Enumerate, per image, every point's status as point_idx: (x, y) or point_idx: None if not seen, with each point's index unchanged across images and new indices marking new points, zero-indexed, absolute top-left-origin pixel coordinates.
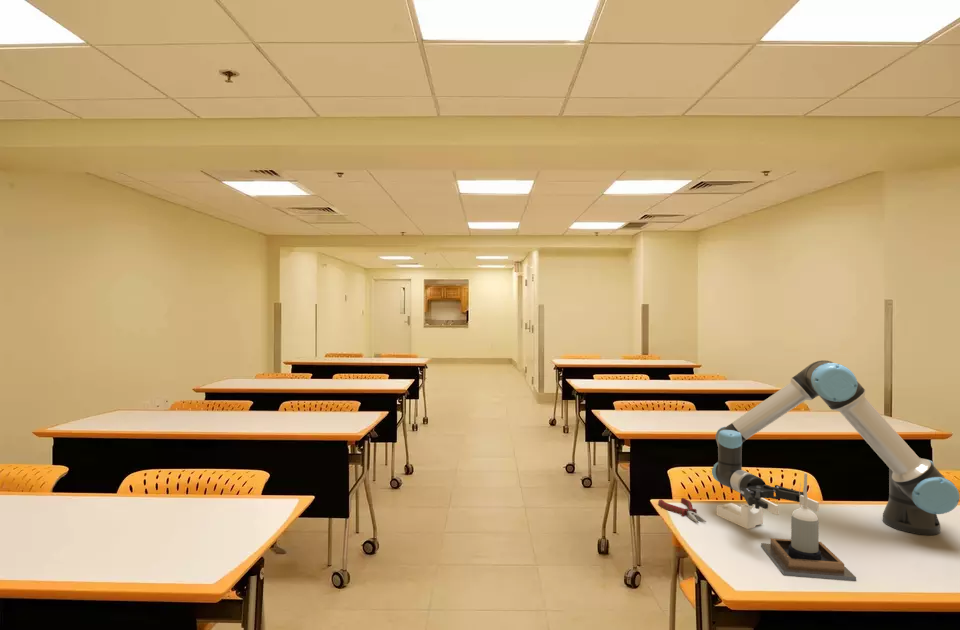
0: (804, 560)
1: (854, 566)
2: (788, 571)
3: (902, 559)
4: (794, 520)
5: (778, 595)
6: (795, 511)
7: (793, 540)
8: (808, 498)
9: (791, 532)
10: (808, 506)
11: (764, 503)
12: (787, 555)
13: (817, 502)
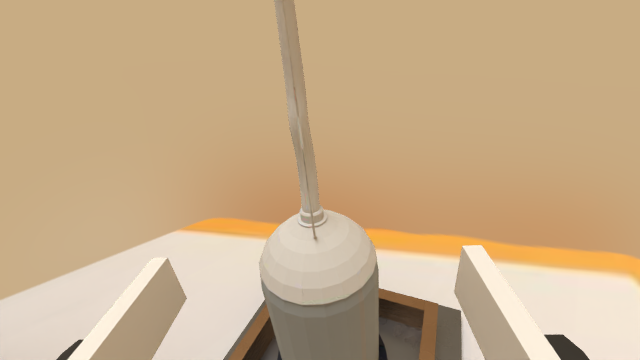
0: (387, 294)
1: (212, 328)
2: (444, 309)
3: (44, 339)
4: (377, 265)
5: (509, 249)
6: (358, 246)
7: (378, 336)
8: (103, 328)
9: (371, 343)
10: (144, 356)
11: (567, 348)
12: (427, 330)
13: (158, 258)
